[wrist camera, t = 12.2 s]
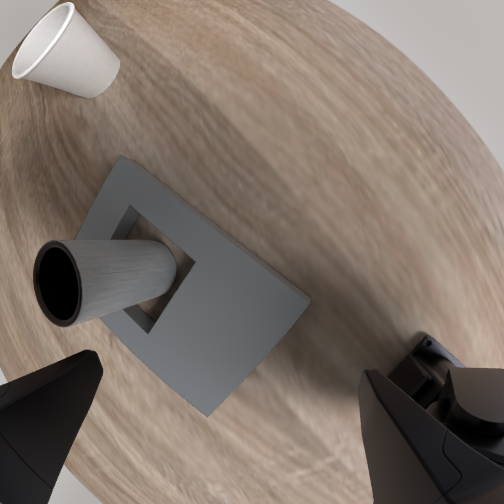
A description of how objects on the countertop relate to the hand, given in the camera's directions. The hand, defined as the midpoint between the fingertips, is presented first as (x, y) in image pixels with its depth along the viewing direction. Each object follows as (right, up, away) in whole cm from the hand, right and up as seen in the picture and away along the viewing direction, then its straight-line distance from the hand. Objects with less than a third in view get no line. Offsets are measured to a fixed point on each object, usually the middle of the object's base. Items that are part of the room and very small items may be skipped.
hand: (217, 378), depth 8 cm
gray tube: (-7, +3, +14) cm, 16 cm away
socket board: (-5, +1, +14) cm, 15 cm away
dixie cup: (-15, +23, +15) cm, 32 cm away
